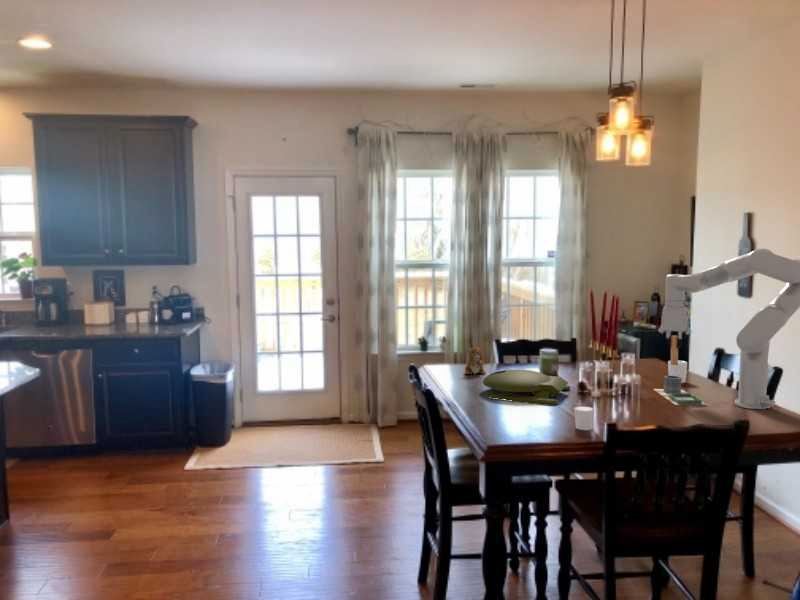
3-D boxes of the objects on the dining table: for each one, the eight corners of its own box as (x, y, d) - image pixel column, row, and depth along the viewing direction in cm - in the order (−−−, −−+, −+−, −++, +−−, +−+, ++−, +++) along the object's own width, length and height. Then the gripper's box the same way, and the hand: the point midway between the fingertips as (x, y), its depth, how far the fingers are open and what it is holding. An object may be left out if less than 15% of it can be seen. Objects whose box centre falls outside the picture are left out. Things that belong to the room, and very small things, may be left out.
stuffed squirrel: (465, 375, 310) (465, 349, 309) (463, 369, 324) (463, 344, 323) (486, 375, 310) (486, 349, 308) (483, 369, 324) (483, 344, 322)
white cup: (683, 381, 291) (683, 360, 290) (689, 385, 283) (689, 363, 282) (665, 381, 292) (665, 360, 291) (670, 385, 284) (671, 363, 283)
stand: (706, 407, 248) (707, 388, 247) (675, 407, 248) (675, 388, 248) (681, 391, 273) (681, 374, 273) (652, 391, 274) (653, 374, 273)
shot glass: (575, 430, 221) (575, 410, 220) (572, 424, 228) (573, 405, 227) (595, 431, 220) (595, 411, 219) (592, 425, 227) (593, 406, 226)
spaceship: (571, 390, 280) (571, 368, 279) (556, 407, 253) (557, 383, 252) (494, 383, 295) (494, 362, 294) (473, 398, 268) (472, 375, 267)
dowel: (679, 364, 266) (679, 336, 265) (674, 365, 264) (675, 336, 263) (673, 363, 268) (674, 335, 267) (669, 364, 267) (669, 335, 266)
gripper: (697, 303, 263) (697, 347, 264) (656, 302, 272) (655, 345, 273) (694, 305, 256) (694, 350, 258) (652, 304, 265) (651, 347, 267)
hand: (674, 347), depth 266 cm, fingers closed on dowel, 2 cm apart
